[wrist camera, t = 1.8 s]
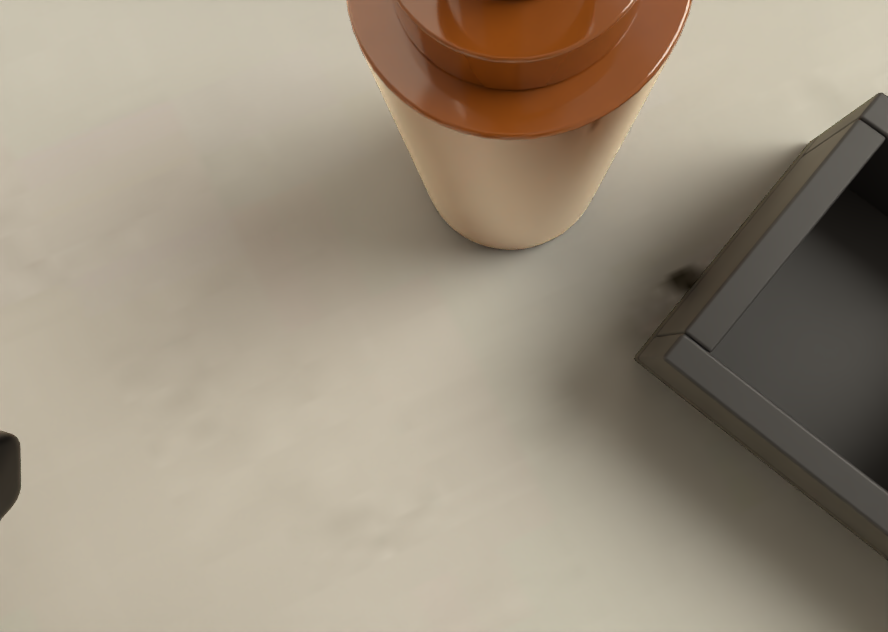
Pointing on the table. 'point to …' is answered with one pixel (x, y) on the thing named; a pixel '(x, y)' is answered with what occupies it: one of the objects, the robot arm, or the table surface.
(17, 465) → the robot arm
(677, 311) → the compartment tray
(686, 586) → the table surface
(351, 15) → the bottle
